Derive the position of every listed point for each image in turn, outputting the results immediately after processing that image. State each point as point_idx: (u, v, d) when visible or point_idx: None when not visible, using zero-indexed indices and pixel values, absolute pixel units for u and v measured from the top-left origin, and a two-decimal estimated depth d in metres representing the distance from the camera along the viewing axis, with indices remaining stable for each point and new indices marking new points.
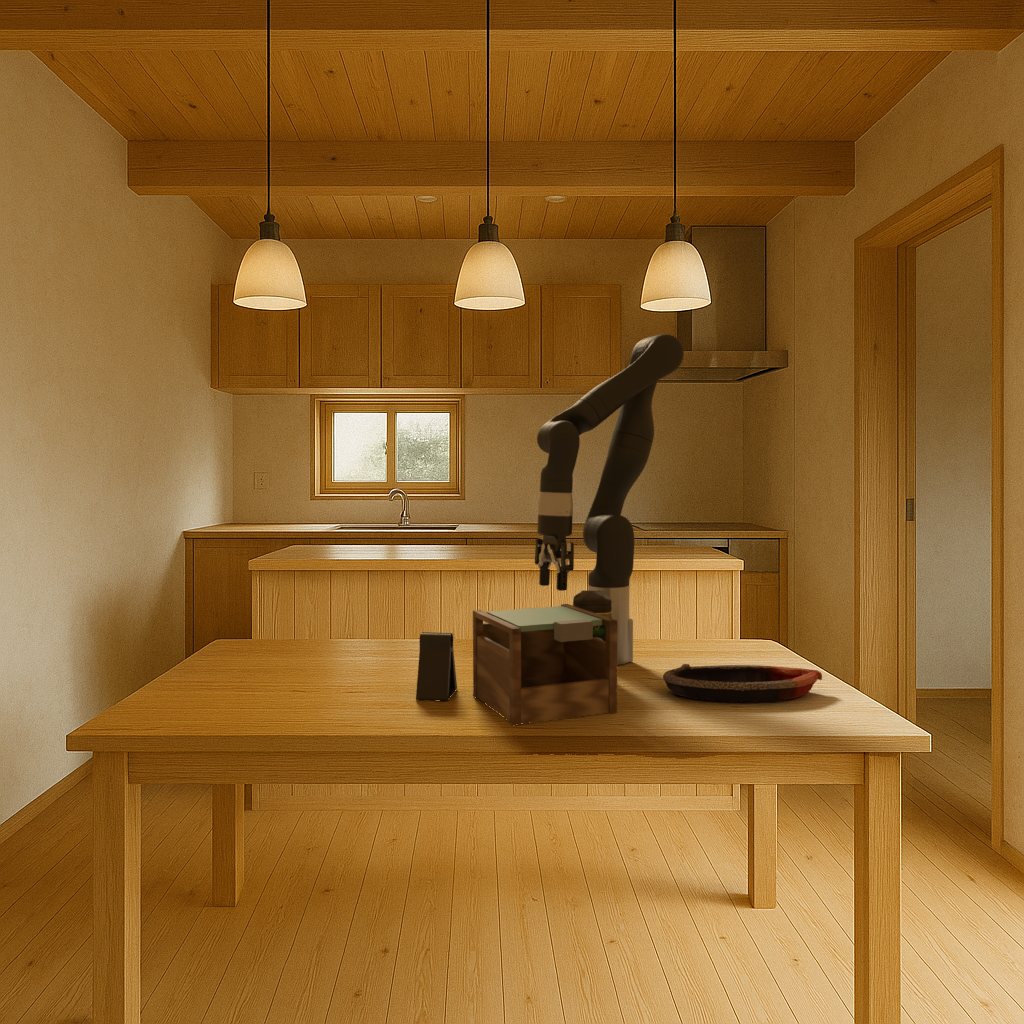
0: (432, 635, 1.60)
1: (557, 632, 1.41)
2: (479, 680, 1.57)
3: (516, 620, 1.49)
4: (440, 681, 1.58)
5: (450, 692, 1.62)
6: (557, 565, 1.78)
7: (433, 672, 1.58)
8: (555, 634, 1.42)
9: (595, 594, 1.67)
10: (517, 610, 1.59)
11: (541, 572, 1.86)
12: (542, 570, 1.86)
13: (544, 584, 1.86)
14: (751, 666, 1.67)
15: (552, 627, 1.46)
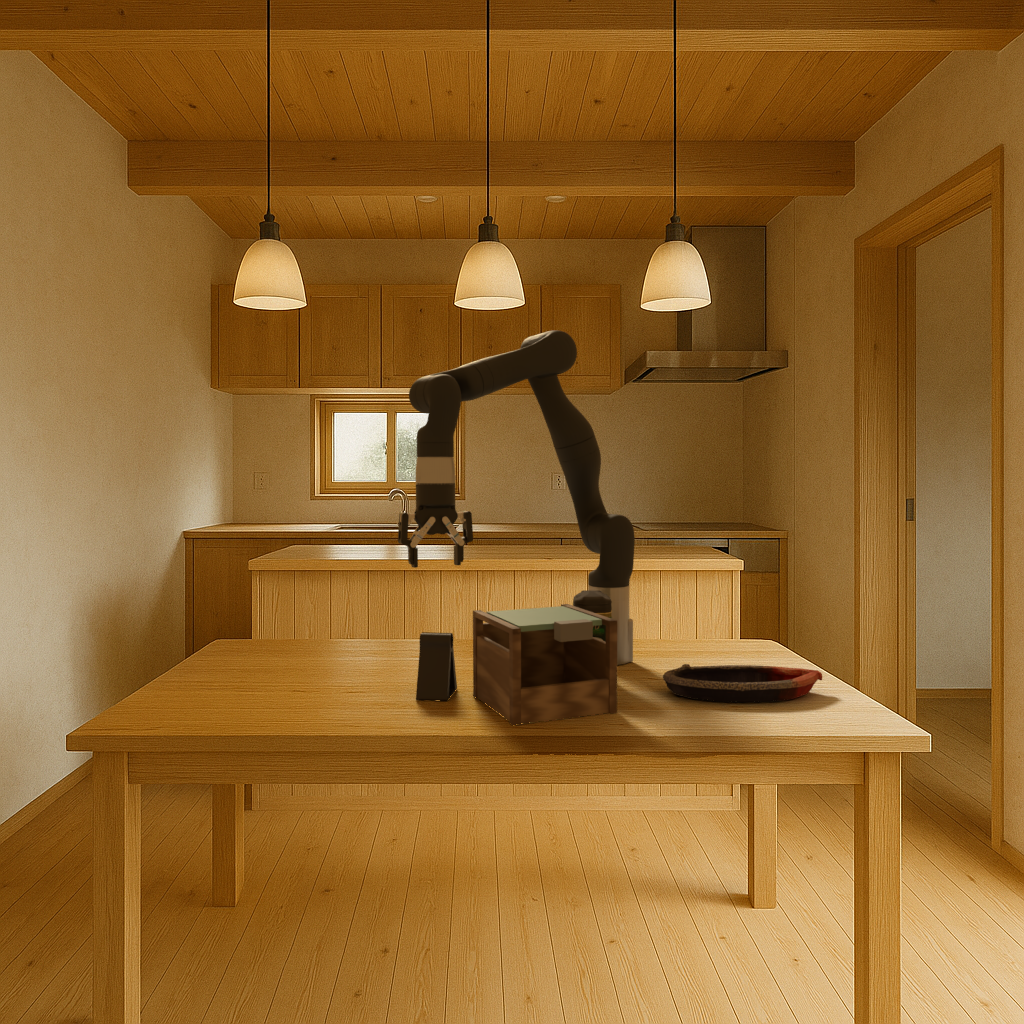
0: (432, 635, 1.60)
1: (557, 632, 1.41)
2: (479, 680, 1.57)
3: (516, 620, 1.49)
4: (440, 681, 1.58)
5: (450, 692, 1.62)
6: (459, 538, 1.61)
7: (433, 672, 1.58)
8: (555, 634, 1.42)
9: (595, 594, 1.67)
10: (517, 610, 1.59)
11: None
12: None
13: None
14: (751, 666, 1.67)
15: (552, 627, 1.46)
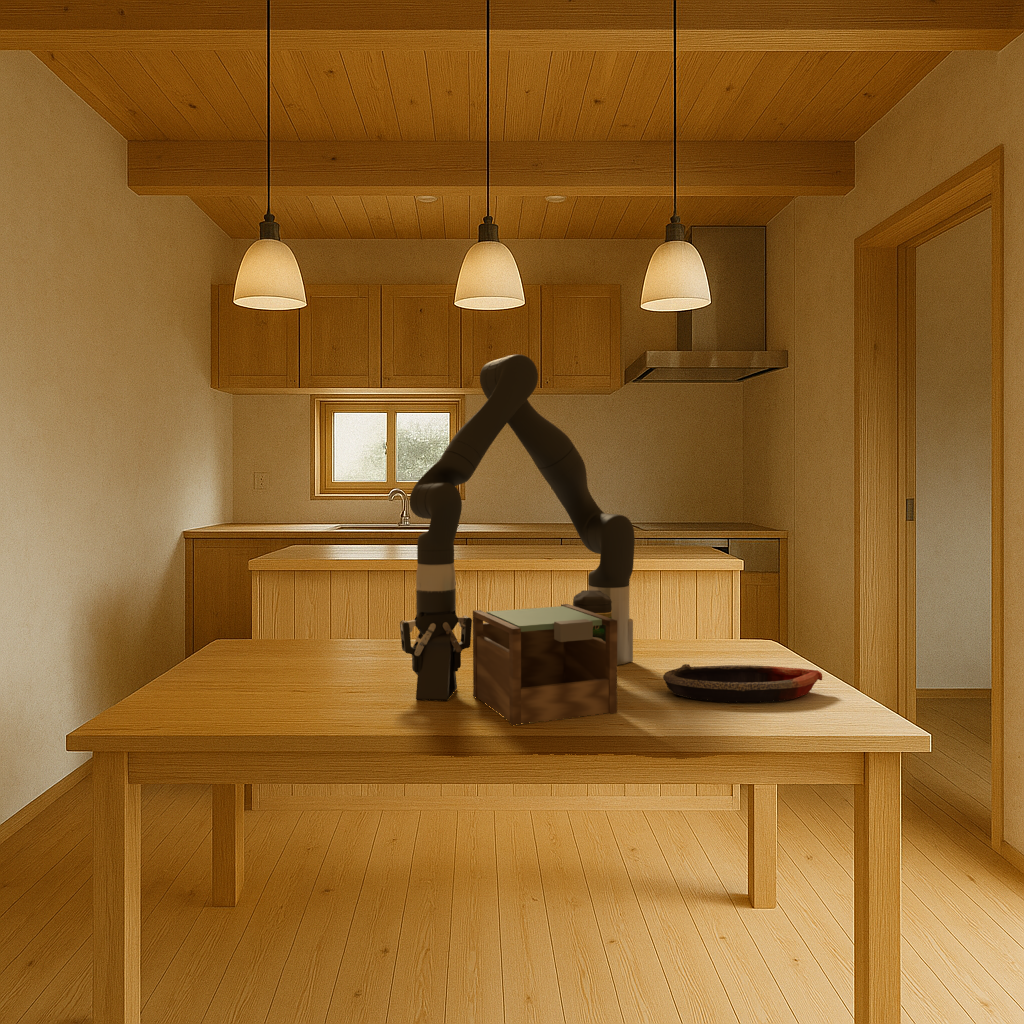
0: None
1: (557, 632, 1.41)
2: (479, 680, 1.57)
3: (516, 620, 1.49)
4: (439, 681, 1.58)
5: (450, 692, 1.62)
6: (456, 644, 1.61)
7: (433, 672, 1.59)
8: (555, 634, 1.42)
9: (595, 594, 1.67)
10: (517, 610, 1.59)
11: None
12: None
13: None
14: (751, 666, 1.67)
15: (552, 627, 1.46)
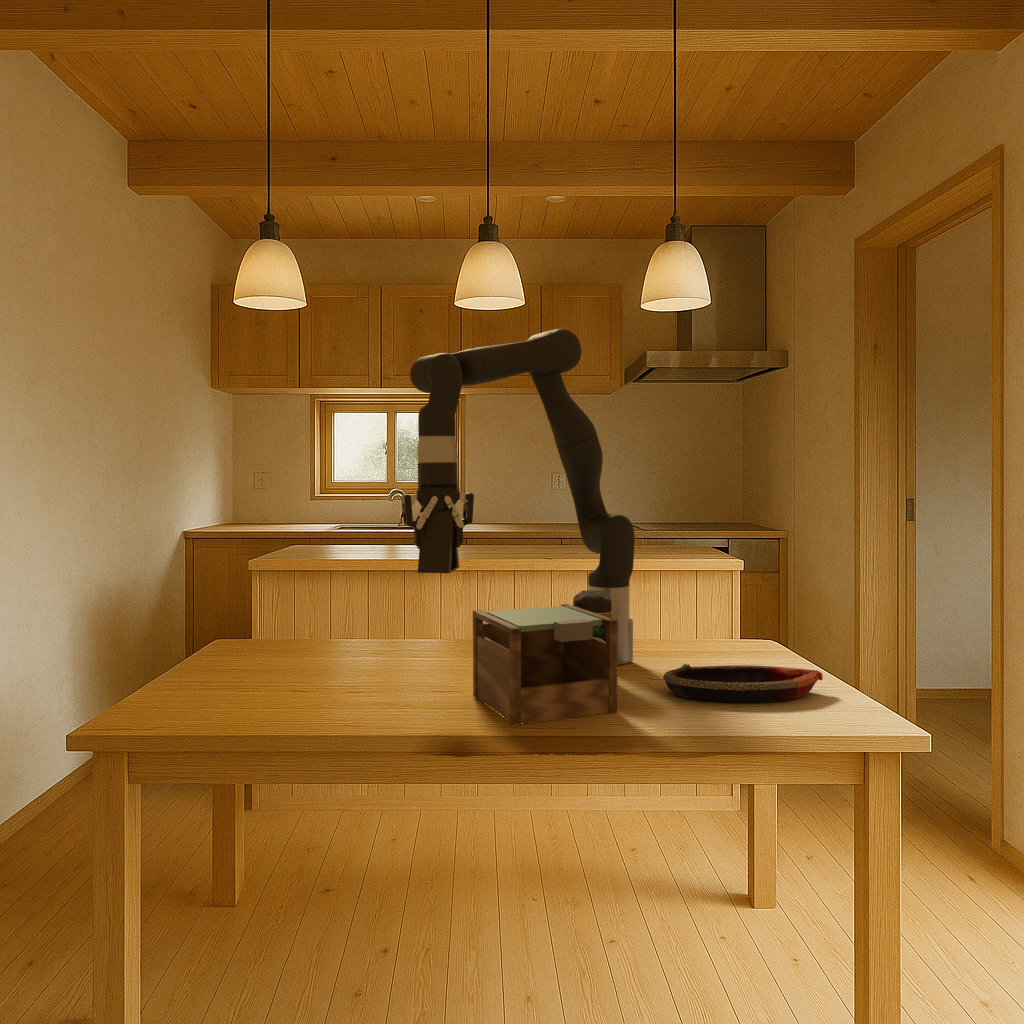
0: None
1: (557, 632, 1.41)
2: (479, 680, 1.57)
3: (516, 620, 1.49)
4: (442, 554, 1.57)
5: (452, 568, 1.61)
6: (458, 519, 1.60)
7: (435, 545, 1.57)
8: (555, 634, 1.42)
9: (595, 594, 1.67)
10: (517, 610, 1.59)
11: None
12: None
13: None
14: (751, 666, 1.67)
15: (552, 627, 1.46)
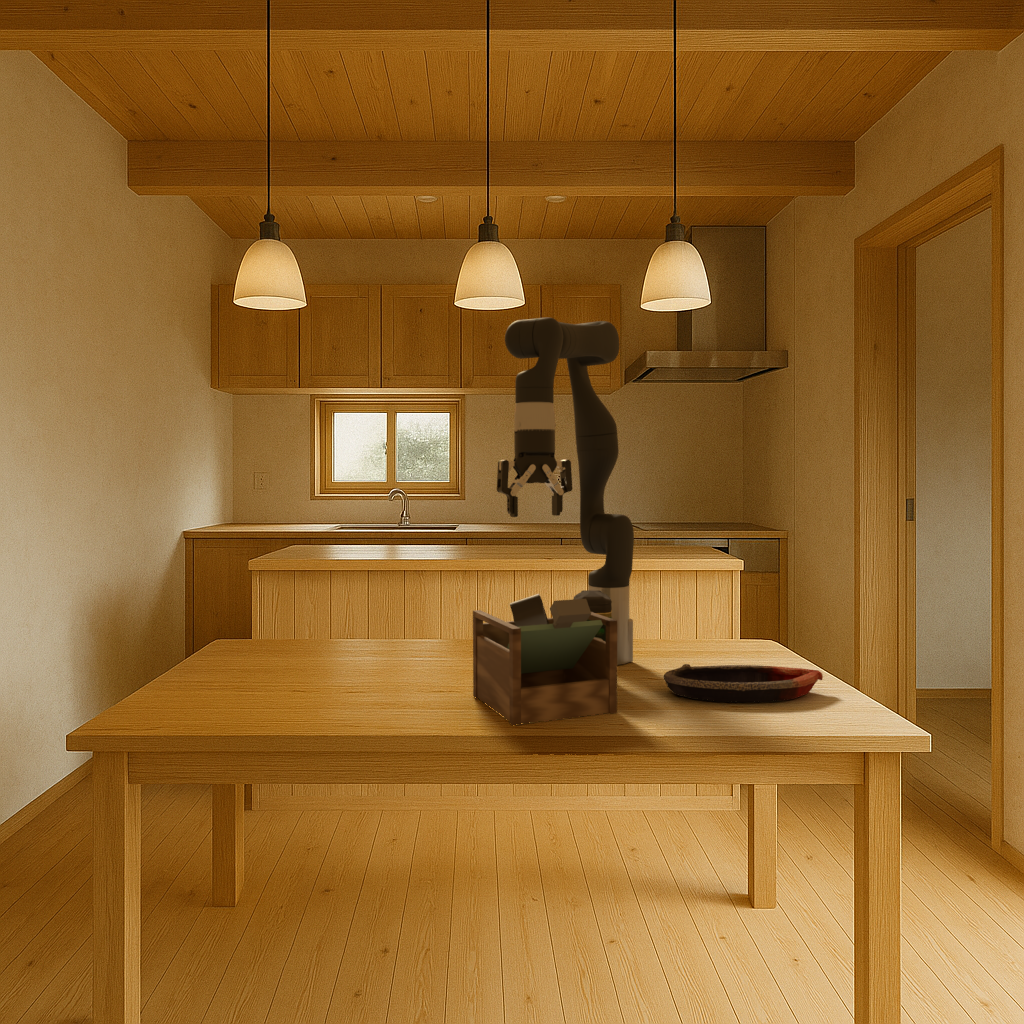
0: (521, 599, 1.61)
1: (554, 612, 1.42)
2: (479, 680, 1.57)
3: None
4: None
5: None
6: (558, 487, 1.56)
7: (531, 624, 1.56)
8: (554, 617, 1.42)
9: (595, 594, 1.67)
10: None
11: None
12: None
13: None
14: (751, 666, 1.67)
15: (552, 627, 1.46)
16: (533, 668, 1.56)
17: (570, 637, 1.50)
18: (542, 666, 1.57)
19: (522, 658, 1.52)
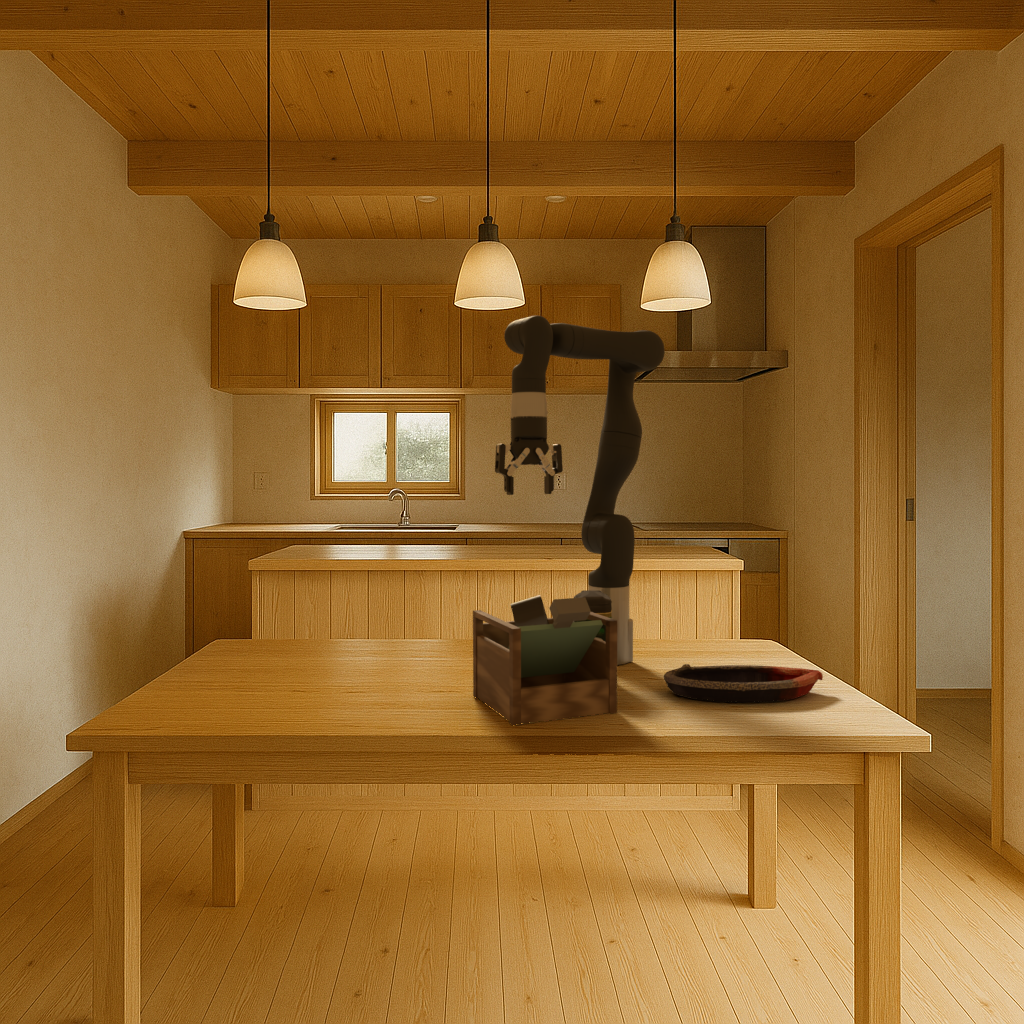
0: (522, 600, 1.61)
1: (554, 611, 1.42)
2: (479, 680, 1.57)
3: None
4: None
5: None
6: (550, 468, 1.74)
7: None
8: (553, 616, 1.42)
9: (595, 594, 1.67)
10: None
11: None
12: None
13: None
14: (752, 666, 1.67)
15: (552, 627, 1.46)
16: (534, 672, 1.56)
17: (570, 638, 1.50)
18: (543, 670, 1.56)
19: (523, 660, 1.51)
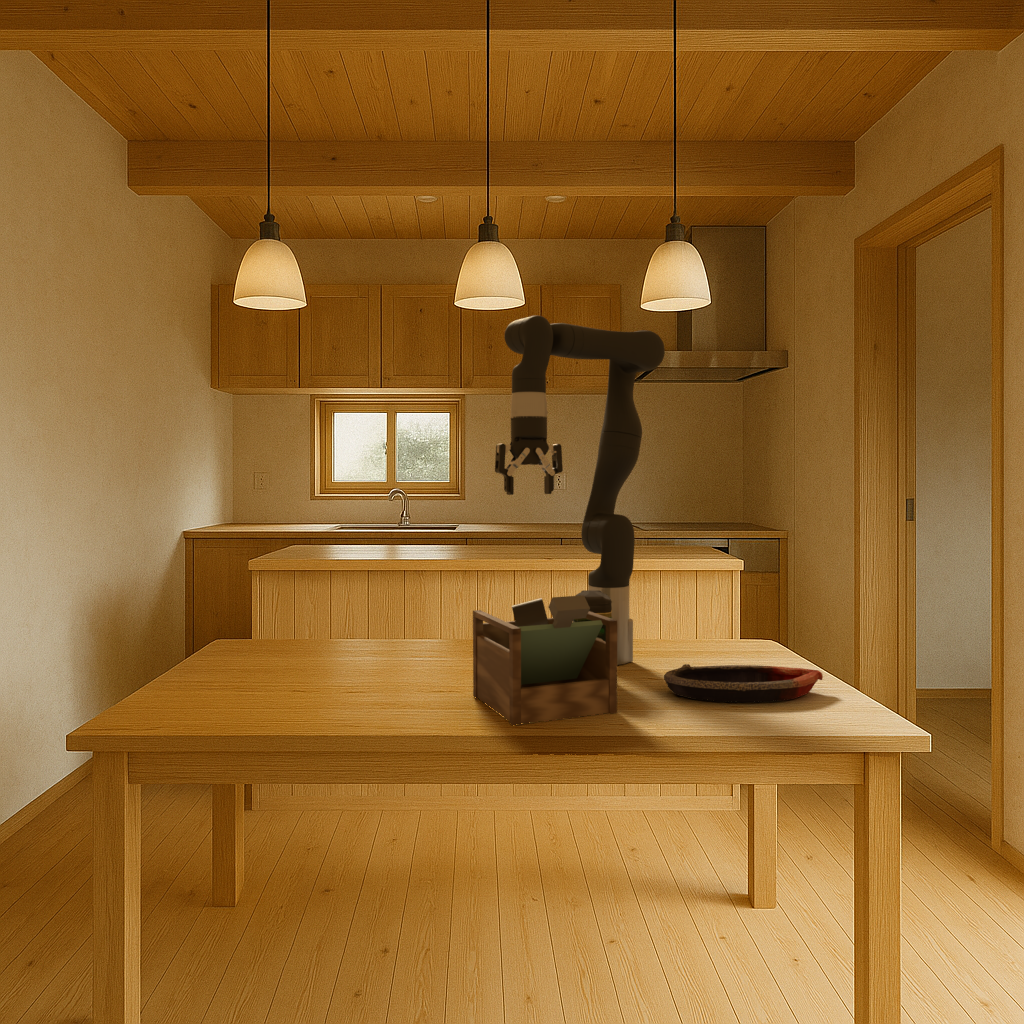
0: (524, 602, 1.61)
1: (553, 609, 1.42)
2: (479, 680, 1.57)
3: None
4: None
5: None
6: (550, 468, 1.74)
7: None
8: (553, 614, 1.42)
9: (595, 594, 1.67)
10: None
11: None
12: None
13: None
14: (751, 666, 1.67)
15: (552, 627, 1.46)
16: (536, 678, 1.55)
17: (571, 640, 1.50)
18: (545, 675, 1.55)
19: (524, 665, 1.51)
